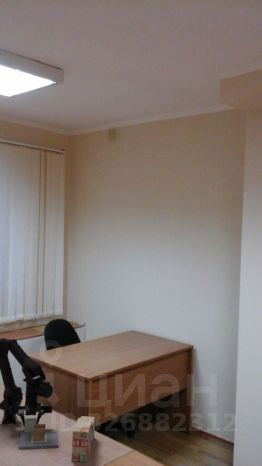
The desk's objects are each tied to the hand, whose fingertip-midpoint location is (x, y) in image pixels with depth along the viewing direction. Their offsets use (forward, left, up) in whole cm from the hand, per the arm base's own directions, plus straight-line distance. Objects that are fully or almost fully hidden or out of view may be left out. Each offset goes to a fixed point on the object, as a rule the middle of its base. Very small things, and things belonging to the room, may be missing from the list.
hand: (30, 427), depth 196 cm
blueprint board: (+11, +4, -1) cm, 12 cm away
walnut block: (+11, +4, 0) cm, 12 cm away
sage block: (0, 0, -1) cm, 1 cm away
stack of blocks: (+20, +22, -1) cm, 30 cm away
